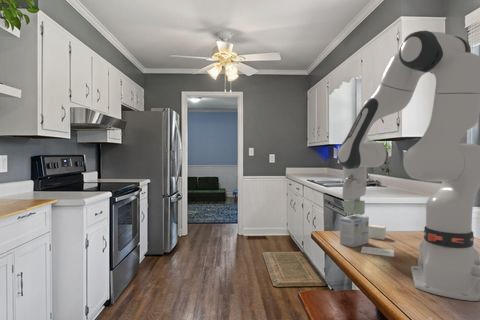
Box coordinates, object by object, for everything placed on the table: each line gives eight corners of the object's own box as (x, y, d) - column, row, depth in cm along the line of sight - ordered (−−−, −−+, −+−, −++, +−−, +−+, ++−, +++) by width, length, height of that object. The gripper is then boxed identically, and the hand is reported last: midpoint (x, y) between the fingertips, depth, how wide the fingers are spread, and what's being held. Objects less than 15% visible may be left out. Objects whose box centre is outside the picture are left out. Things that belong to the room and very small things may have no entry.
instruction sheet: (394, 257, 110) (394, 256, 110) (360, 252, 115) (360, 252, 115) (394, 250, 117) (394, 249, 117) (362, 246, 122) (362, 246, 122)
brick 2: (383, 239, 132) (383, 228, 132) (366, 237, 136) (366, 225, 136) (385, 237, 135) (385, 226, 135) (368, 235, 139) (368, 224, 139)
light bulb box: (354, 239, 132) (354, 214, 132) (369, 243, 127) (369, 216, 127) (339, 244, 126) (339, 217, 126) (354, 248, 121) (354, 220, 120)
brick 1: (362, 214, 123) (362, 202, 123) (343, 212, 127) (344, 200, 127) (364, 213, 126) (364, 200, 126) (346, 211, 130) (347, 199, 130)
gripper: (355, 176, 116) (355, 214, 116) (369, 173, 132) (368, 206, 133) (338, 175, 119) (338, 212, 120) (353, 172, 136) (353, 204, 136)
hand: (354, 209), depth 126 cm, fingers closed on brick 1, 4 cm apart
